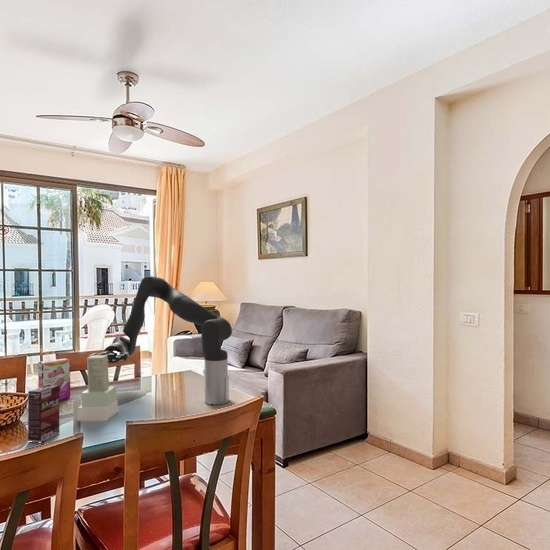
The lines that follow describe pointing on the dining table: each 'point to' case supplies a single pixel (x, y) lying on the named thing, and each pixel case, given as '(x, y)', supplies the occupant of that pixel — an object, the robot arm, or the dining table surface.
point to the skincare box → (97, 373)
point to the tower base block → (97, 412)
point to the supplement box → (43, 413)
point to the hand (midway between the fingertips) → (104, 360)
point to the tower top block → (98, 397)
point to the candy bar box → (55, 375)
